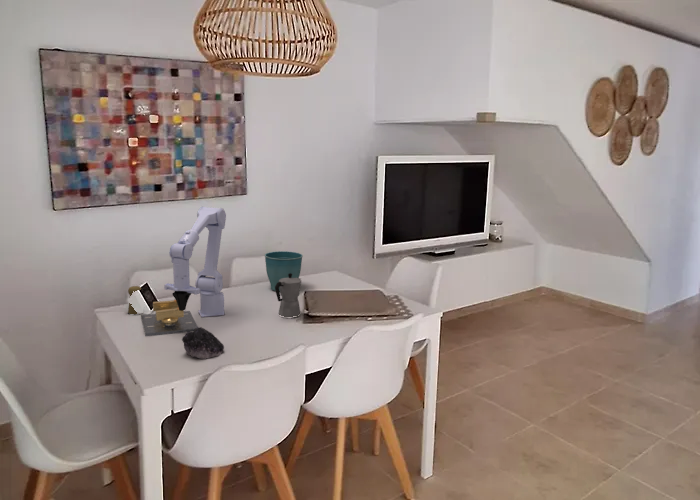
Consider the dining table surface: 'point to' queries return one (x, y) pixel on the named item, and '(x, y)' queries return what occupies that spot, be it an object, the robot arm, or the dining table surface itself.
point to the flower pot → (282, 266)
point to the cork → (130, 291)
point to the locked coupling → (164, 305)
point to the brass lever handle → (169, 316)
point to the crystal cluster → (202, 344)
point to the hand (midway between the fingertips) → (182, 309)
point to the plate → (158, 328)
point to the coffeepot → (288, 296)
